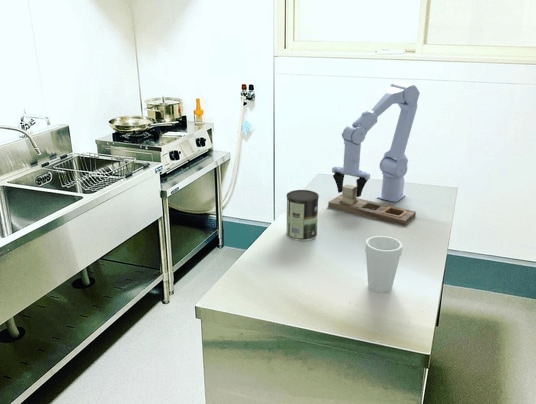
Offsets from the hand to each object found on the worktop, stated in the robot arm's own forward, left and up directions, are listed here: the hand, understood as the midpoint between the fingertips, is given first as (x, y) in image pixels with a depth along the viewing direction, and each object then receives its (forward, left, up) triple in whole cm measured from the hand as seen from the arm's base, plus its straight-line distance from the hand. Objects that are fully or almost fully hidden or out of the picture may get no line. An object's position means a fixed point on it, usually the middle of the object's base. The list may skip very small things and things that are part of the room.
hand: (349, 194), depth 197 cm
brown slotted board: (0, +9, -5) cm, 10 cm away
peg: (0, 0, -5) cm, 5 cm away
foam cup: (+48, +34, -5) cm, 59 cm away
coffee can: (+32, -1, -5) cm, 32 cm away
